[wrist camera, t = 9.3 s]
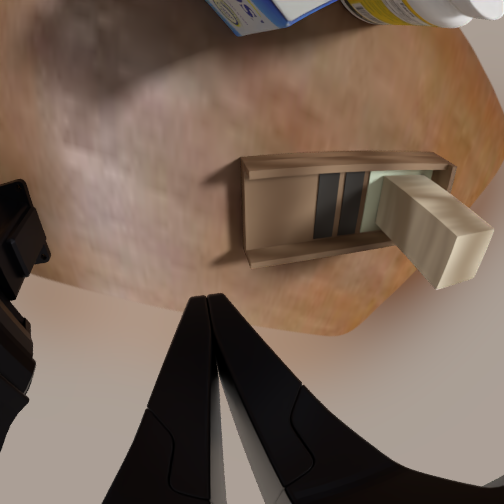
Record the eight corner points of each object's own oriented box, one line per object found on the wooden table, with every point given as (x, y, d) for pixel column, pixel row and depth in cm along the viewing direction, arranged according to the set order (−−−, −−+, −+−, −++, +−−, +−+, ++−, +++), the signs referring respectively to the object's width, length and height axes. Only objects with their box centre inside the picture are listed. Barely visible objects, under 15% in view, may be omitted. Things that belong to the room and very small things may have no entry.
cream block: (375, 222, 24) (435, 290, 17) (384, 175, 21) (457, 236, 15) (412, 218, 24) (473, 278, 18) (423, 174, 22) (494, 229, 16)
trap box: (243, 248, 24) (252, 273, 21) (240, 157, 19) (251, 174, 17) (416, 223, 26) (435, 242, 24) (433, 152, 22) (457, 166, 20)
